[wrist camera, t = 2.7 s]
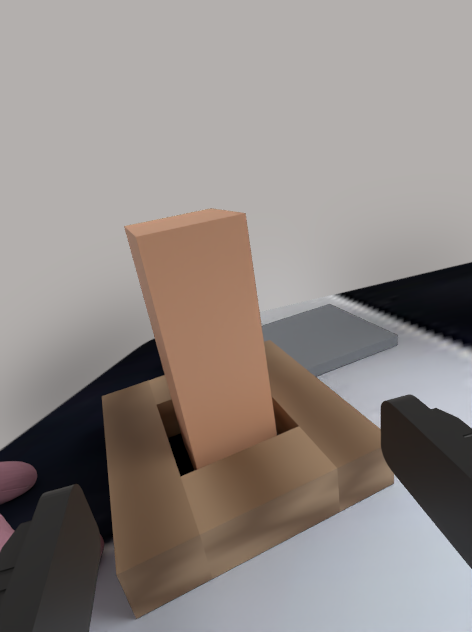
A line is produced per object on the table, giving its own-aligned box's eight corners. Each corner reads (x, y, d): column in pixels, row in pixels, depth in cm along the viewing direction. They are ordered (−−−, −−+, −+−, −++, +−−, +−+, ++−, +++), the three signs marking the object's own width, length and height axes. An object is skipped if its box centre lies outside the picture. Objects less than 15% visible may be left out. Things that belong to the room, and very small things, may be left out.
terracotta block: (248, 416, 26) (211, 208, 21) (280, 461, 22) (245, 213, 16) (183, 442, 25) (124, 226, 19) (204, 496, 21) (135, 236, 15)
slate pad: (330, 311, 41) (330, 303, 41) (397, 344, 32) (397, 335, 32) (251, 337, 38) (250, 329, 38) (301, 381, 29) (300, 371, 29)
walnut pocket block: (273, 369, 32) (269, 339, 30) (393, 483, 19) (394, 440, 18) (113, 428, 28) (101, 396, 26) (136, 619, 15) (116, 574, 14)
